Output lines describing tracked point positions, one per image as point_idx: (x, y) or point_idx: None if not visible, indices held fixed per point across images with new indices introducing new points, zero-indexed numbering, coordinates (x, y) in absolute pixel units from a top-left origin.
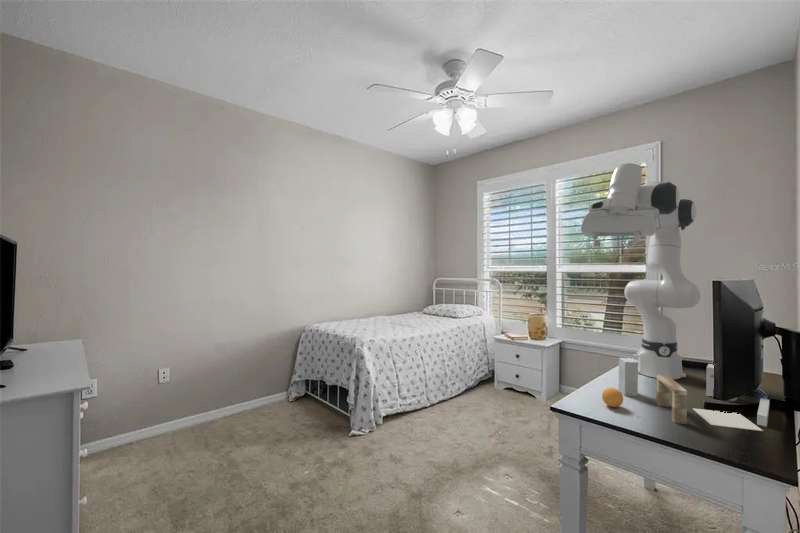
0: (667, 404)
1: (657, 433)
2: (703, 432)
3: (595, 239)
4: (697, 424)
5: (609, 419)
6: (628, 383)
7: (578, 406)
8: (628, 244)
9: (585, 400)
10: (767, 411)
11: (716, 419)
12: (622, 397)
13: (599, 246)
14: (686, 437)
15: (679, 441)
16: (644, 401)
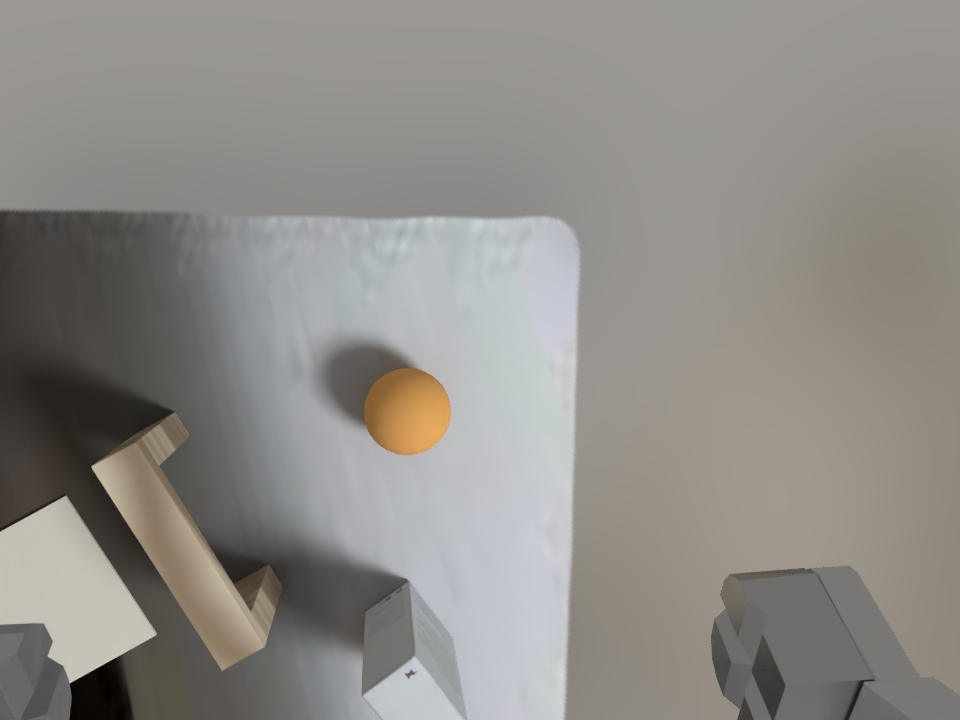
0: (237, 584)
1: (194, 249)
2: (72, 394)
3: (910, 705)
4: None
5: (369, 249)
6: (397, 613)
7: (510, 294)
8: (6, 640)
9: (514, 388)
10: None
11: (60, 570)
12: (365, 412)
13: (720, 650)
14: (107, 293)
15: (117, 234)
16: (326, 572)
